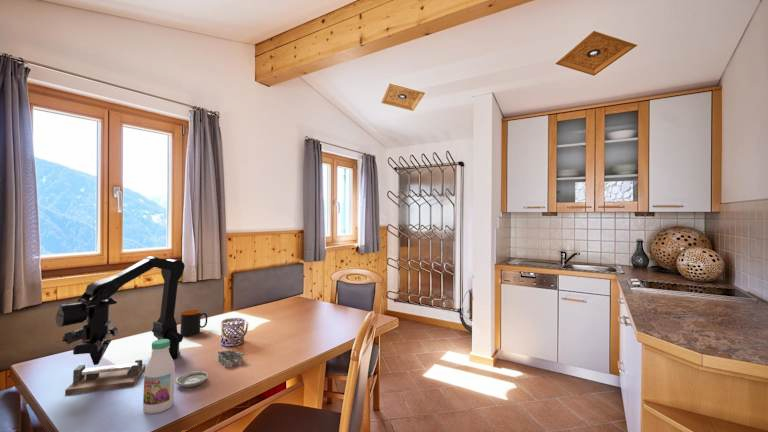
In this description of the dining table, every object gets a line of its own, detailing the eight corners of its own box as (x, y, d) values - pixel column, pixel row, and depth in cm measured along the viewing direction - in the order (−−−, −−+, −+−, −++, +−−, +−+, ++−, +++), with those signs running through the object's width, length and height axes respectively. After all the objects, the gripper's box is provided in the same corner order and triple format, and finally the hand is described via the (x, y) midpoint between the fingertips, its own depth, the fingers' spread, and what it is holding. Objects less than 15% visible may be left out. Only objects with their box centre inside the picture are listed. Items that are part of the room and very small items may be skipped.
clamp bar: (140, 365, 121) (140, 361, 121) (137, 369, 118) (137, 365, 118) (85, 371, 115) (85, 367, 115) (81, 375, 112) (81, 371, 112)
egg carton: (244, 364, 132) (244, 354, 132) (224, 369, 127) (224, 359, 127) (235, 355, 140) (235, 345, 140) (216, 360, 135) (216, 350, 135)
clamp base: (145, 368, 126) (146, 353, 126) (133, 385, 113) (133, 369, 113) (85, 374, 119) (86, 359, 119) (65, 394, 106) (65, 377, 106)
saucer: (173, 393, 109) (173, 386, 110) (178, 380, 118) (178, 373, 118) (206, 388, 113) (206, 381, 113) (208, 375, 122) (209, 368, 122)
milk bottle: (152, 400, 105) (155, 336, 105) (178, 400, 105) (181, 336, 105) (136, 414, 97) (139, 345, 97) (164, 414, 98) (167, 346, 98)
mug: (210, 331, 167) (211, 311, 167) (184, 338, 157) (185, 316, 157) (203, 328, 172) (204, 307, 172) (177, 333, 162) (178, 312, 162)
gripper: (81, 313, 121) (79, 356, 120) (52, 329, 103) (50, 380, 103) (119, 311, 125) (117, 353, 125) (97, 326, 107) (95, 375, 107)
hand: (96, 364), depth 115 cm, fingers closed
